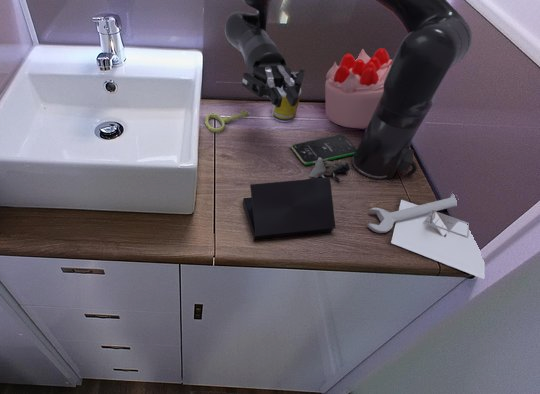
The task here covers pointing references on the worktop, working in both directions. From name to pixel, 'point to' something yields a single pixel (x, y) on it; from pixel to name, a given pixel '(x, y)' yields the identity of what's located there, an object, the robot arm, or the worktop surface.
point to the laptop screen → (292, 206)
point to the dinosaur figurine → (329, 168)
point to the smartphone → (323, 149)
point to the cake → (356, 88)
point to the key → (223, 120)
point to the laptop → (249, 214)
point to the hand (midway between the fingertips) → (287, 102)
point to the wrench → (408, 213)
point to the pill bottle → (285, 108)
